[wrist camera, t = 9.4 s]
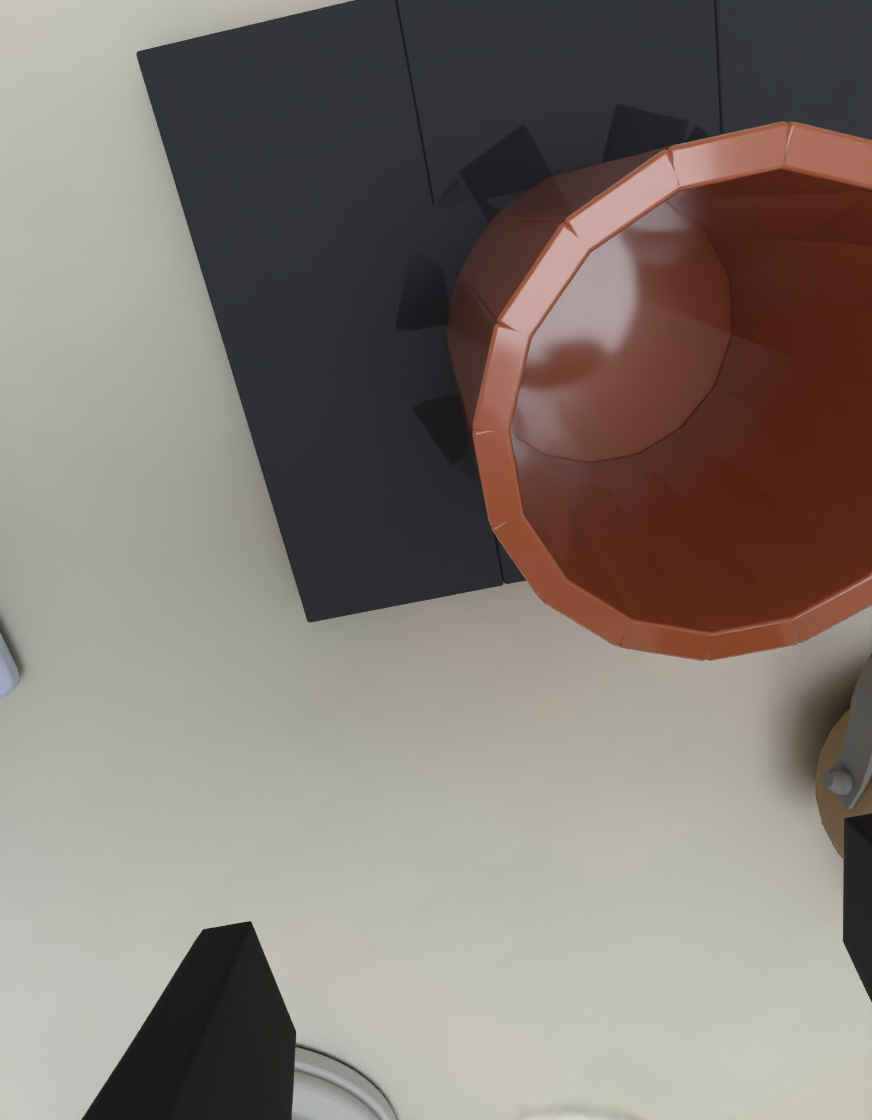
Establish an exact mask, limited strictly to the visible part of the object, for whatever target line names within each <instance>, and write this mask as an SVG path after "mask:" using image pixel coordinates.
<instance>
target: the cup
mask: <svg viewBox="0 0 872 1120" xmlns="http://www.w3.org/2000/svg"><path fill="white" fill-rule="evenodd" d="M446 334H447V338H446V340H447V345H448V350H449V356H450V362H451V366H452V371H453V377H454V382H455V387H456V392H457V397H458V401H459V405H460V409H461V413H462V417H463V421H464V425H465V429H466V433H467V437H468V441H469V445H470V449H471V453H472V457H473V462H474V466H475V470H476V474H477V478H478V482H479V486H480V490H481V494H482V498H483V502H484V506H485V510H486V514H487V518H488V522H489V524H490V525H491V529H492V531H493V533H494V534H495V536H496V537H497V539H498V540H499V541H500V543H501V544H502V546H503V547H504V549H505V550H506V552H507V553H508V554H509V556H510V557H511V559H512V560H513V562H514V563H515V565H516V566H517V567H518V569H519V570H520V572H521V573H522V575H523V576H524V577H525V579H526V580H527V582H528V583H529V585H530V586H531V588H532V589H533V590H534V592H535V593H536V595H537V596H538V598H540V599H541V600H543V602H544V603H545V604H547V605H548V606H550V607H552V608H553V609H555V610H556V611H558V612H560V613H561V614H563V615H565V616H566V617H568V618H570V619H571V620H573V621H575V622H576V623H578V624H580V625H581V626H583V627H584V628H586V629H588V630H589V631H591V632H593V633H594V634H596V635H598V636H599V637H601V638H603V639H604V640H606V641H608V642H609V643H611V644H613V645H615V646H619V647H620V648H625V649H632V650H638V651H644V652H650V653H656V654H663V655H669V656H675V657H681V658H687V659H694V660H700V661H705V660H707V661H712V660H717V659H722V658H728V657H733V656H739V655H744V654H750V653H755V652H760V651H766V650H771V649H777V648H782V647H787V646H793V645H796V644H798V642H799V643H802V642H804V641H806V640H808V639H810V638H812V637H814V636H816V635H817V634H819V633H821V632H823V631H825V630H827V629H828V628H830V627H832V626H834V625H836V624H838V623H840V622H841V621H843V620H845V619H847V618H849V617H851V616H853V615H854V614H856V613H858V612H860V611H862V610H864V609H866V608H867V607H869V606H871V605H872V140H871V139H867V138H863V137H858V136H854V135H850V134H846V133H842V132H837V131H833V130H829V129H825V128H821V127H816V126H812V125H808V124H804V123H800V122H795V121H792V122H785V121H781V122H777V123H772V124H768V125H763V126H758V127H754V128H749V129H745V130H740V131H736V132H731V133H727V134H722V135H718V136H713V137H709V138H704V139H700V140H695V141H690V142H686V143H681V144H677V145H672V146H668V147H664V148H660V149H657V150H653V151H649V152H645V153H641V154H637V155H633V156H629V157H625V158H621V159H617V160H613V161H609V162H605V163H601V164H597V165H593V166H589V167H585V168H581V169H577V170H573V171H569V172H565V173H561V174H558V175H554V176H552V177H550V178H547V179H545V180H544V181H543V182H541V183H540V184H538V185H536V186H534V187H533V188H531V189H530V190H528V191H526V192H525V193H523V194H522V195H520V196H518V197H517V198H516V199H515V200H513V201H512V202H511V203H510V204H508V205H507V206H506V207H505V208H504V209H502V210H501V211H500V212H499V213H498V214H497V215H496V217H495V218H493V219H492V221H491V222H490V223H489V224H488V225H487V226H486V227H485V229H484V230H483V232H482V233H481V234H480V236H479V237H478V238H477V240H476V241H475V243H474V244H473V246H472V248H471V249H470V251H469V253H468V255H467V257H466V259H465V260H464V262H463V265H462V267H461V270H460V272H459V275H458V277H457V280H456V283H455V286H454V290H453V294H452V298H451V302H450V309H449V317H448V328H447V333H446Z"/></svg>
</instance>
